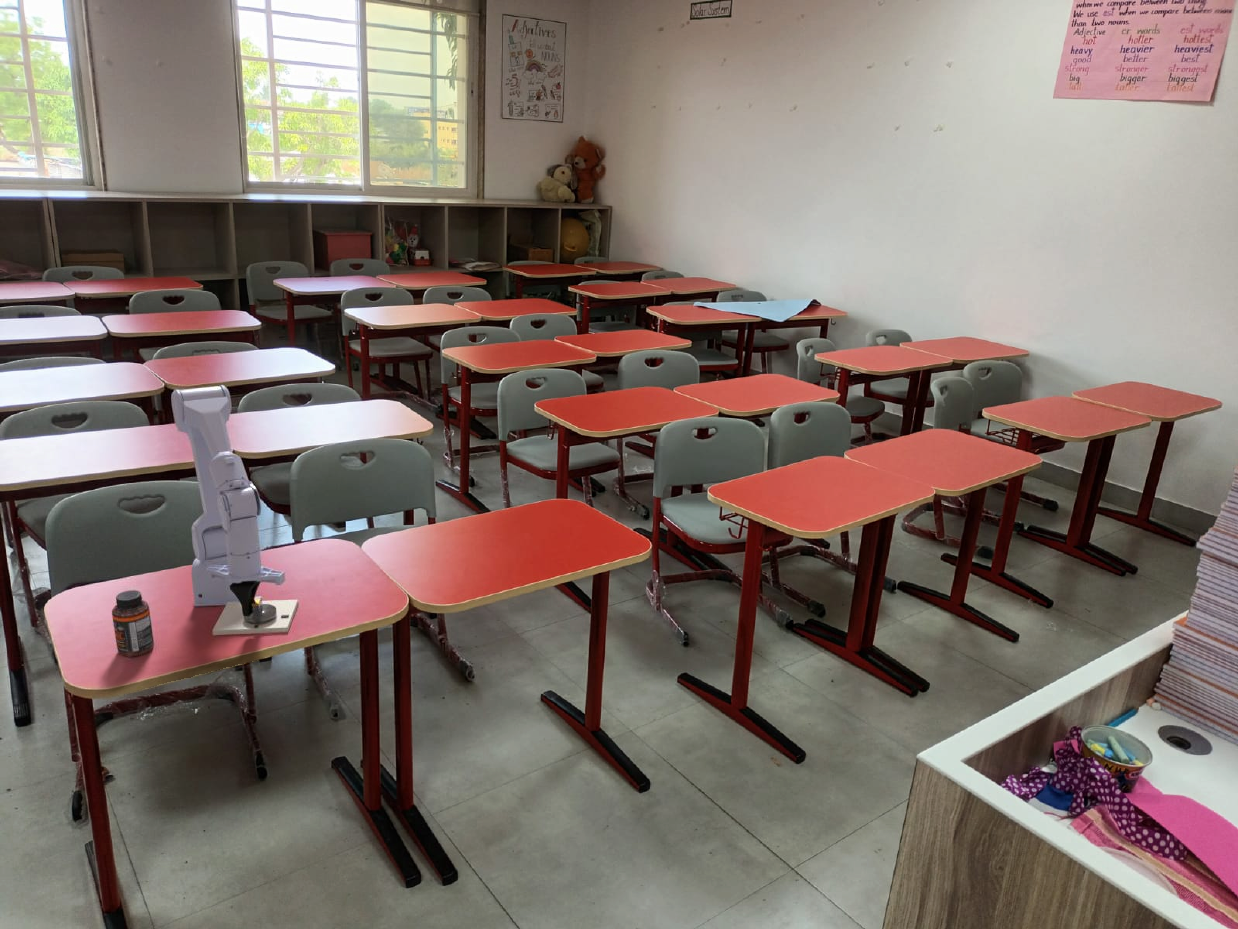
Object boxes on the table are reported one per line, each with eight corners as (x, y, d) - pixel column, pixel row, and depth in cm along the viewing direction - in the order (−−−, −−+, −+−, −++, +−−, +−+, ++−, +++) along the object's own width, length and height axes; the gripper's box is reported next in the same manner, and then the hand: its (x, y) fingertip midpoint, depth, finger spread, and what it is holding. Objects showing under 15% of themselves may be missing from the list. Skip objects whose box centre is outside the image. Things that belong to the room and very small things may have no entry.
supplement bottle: (111, 651, 158) (102, 595, 155) (143, 638, 163) (135, 584, 160) (128, 661, 155) (120, 605, 152) (161, 648, 160) (153, 593, 156)
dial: (246, 610, 172) (244, 588, 171) (278, 608, 174) (276, 586, 172) (240, 627, 166) (238, 604, 164) (273, 625, 167) (271, 602, 166)
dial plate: (213, 635, 165) (212, 629, 165) (228, 606, 176) (227, 600, 176) (287, 632, 168) (287, 626, 167) (298, 603, 179) (297, 598, 178)
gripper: (194, 554, 159) (201, 620, 163) (270, 561, 158) (275, 627, 162) (215, 539, 165) (221, 603, 170) (288, 546, 164) (292, 610, 169)
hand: (249, 614), depth 166 cm, fingers closed, pressing on dial
